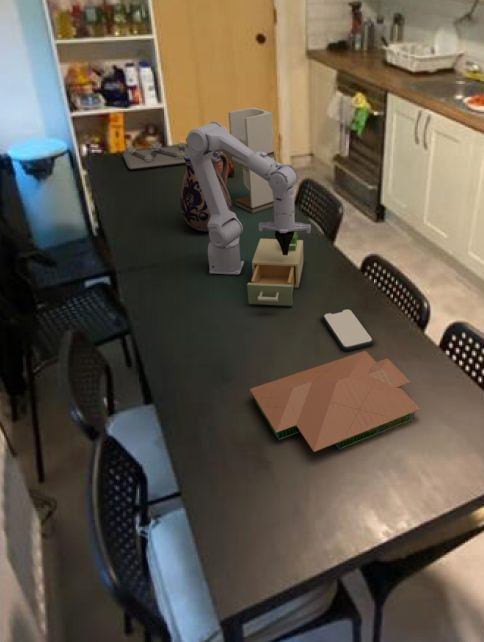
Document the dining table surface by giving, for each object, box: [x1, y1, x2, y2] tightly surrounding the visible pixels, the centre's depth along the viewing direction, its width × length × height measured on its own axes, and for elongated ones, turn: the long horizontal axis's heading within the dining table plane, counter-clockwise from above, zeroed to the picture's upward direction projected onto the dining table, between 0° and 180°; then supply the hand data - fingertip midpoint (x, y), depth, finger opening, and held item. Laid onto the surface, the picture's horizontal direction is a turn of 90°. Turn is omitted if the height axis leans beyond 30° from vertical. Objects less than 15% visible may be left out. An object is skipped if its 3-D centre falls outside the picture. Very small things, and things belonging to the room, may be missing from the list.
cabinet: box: [251, 238, 304, 289], centre depth 172 cm, size 16×14×8 cm
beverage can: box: [218, 160, 236, 177], centre depth 240 cm, size 7×12×7 cm, turn 116°
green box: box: [289, 232, 299, 251], centre depth 171 cm, size 7×4×4 cm, turn 177°
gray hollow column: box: [228, 106, 275, 214], centre depth 209 cm, size 11×11×35 cm
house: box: [249, 350, 421, 453], centre depth 123 cm, size 23×33×8 cm
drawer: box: [246, 265, 295, 306], centre depth 161 cm, size 18×12×6 cm, turn 177°
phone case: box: [322, 308, 374, 352], centre depth 149 cm, size 9×2×16 cm
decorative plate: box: [122, 141, 189, 171], centre depth 256 cm, size 30×22×7 cm
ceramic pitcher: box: [179, 151, 233, 233], centre depth 196 cm, size 18×21×25 cm
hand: (285, 253), depth 164 cm, fingers closed
